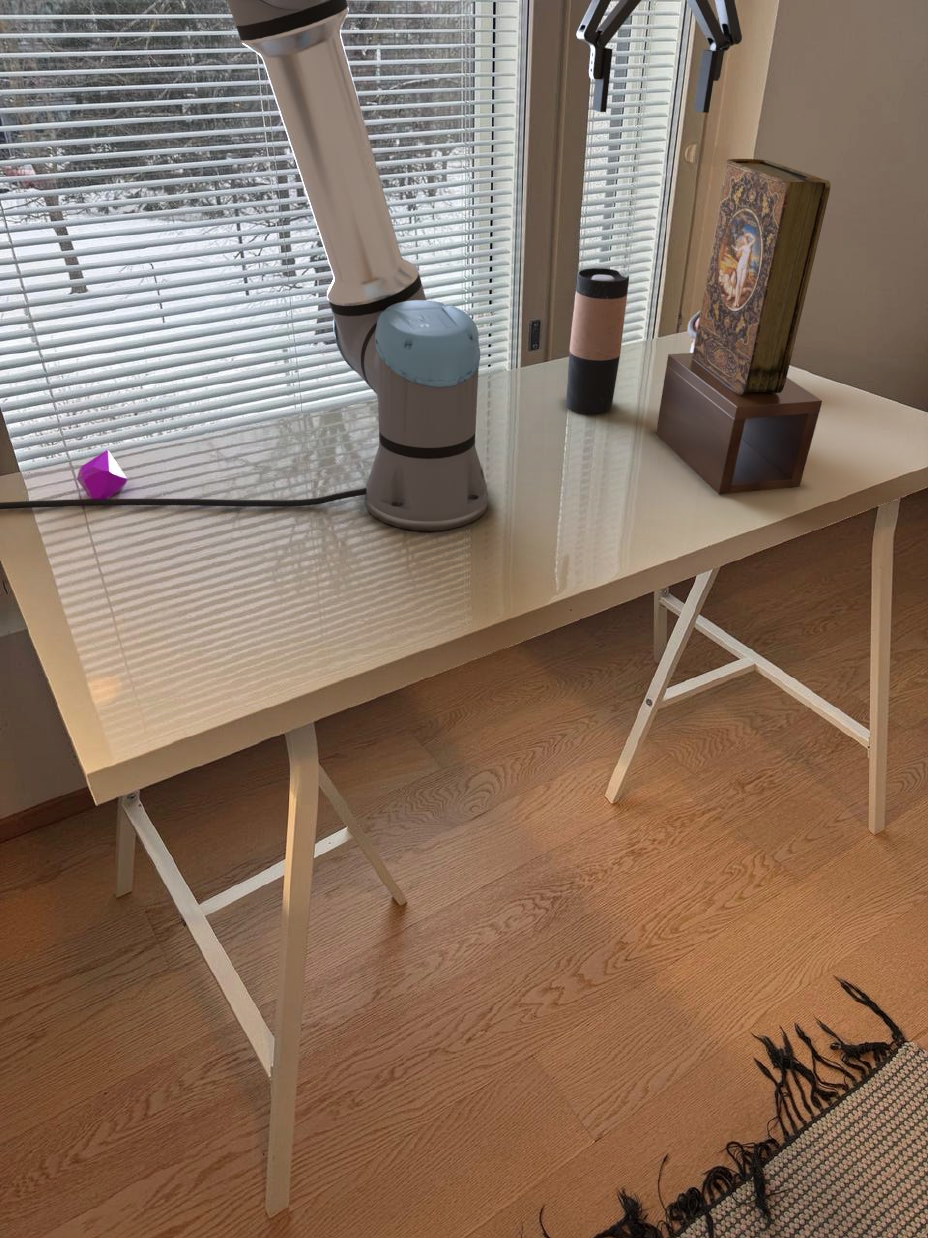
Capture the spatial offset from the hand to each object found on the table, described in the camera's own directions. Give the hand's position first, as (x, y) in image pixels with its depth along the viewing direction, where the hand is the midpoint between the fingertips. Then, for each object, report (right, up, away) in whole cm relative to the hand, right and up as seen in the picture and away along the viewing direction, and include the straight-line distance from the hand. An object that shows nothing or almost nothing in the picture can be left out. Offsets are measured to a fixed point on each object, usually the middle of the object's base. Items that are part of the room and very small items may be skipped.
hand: (650, 111), depth 114 cm
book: (+13, -30, +9) cm, 34 cm away
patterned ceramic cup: (+18, -23, +42) cm, 51 cm away
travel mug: (-4, -29, +31) cm, 43 cm away
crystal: (-68, -47, +2) cm, 83 cm away
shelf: (+14, -40, +16) cm, 45 cm away
